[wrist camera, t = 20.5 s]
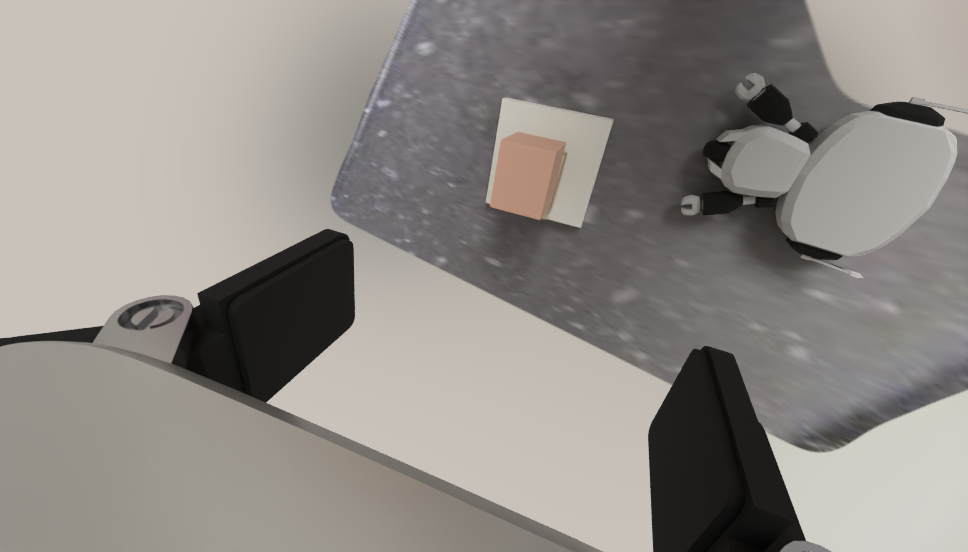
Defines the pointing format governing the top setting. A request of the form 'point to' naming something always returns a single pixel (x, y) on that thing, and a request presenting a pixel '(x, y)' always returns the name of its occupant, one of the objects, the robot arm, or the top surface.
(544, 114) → the base plate
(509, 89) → the top surface
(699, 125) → the top surface
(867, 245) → the robot toy
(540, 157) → the clay brick
